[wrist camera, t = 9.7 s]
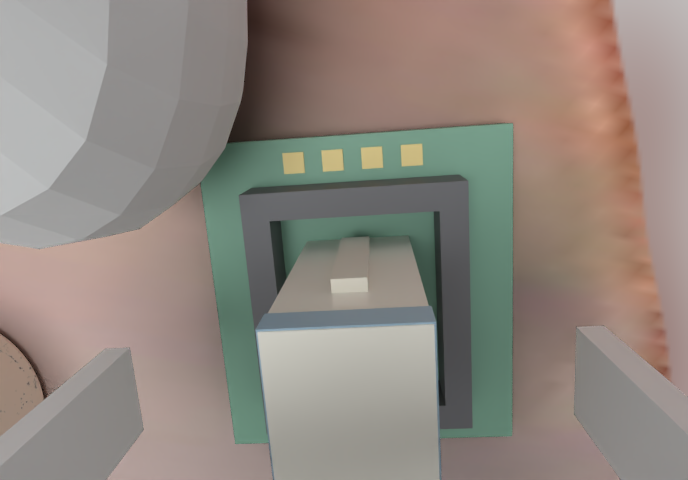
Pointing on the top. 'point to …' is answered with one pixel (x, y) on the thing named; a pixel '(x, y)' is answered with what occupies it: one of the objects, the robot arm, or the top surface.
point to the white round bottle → (111, 110)
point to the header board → (374, 221)
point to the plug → (351, 366)
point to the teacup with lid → (16, 386)
